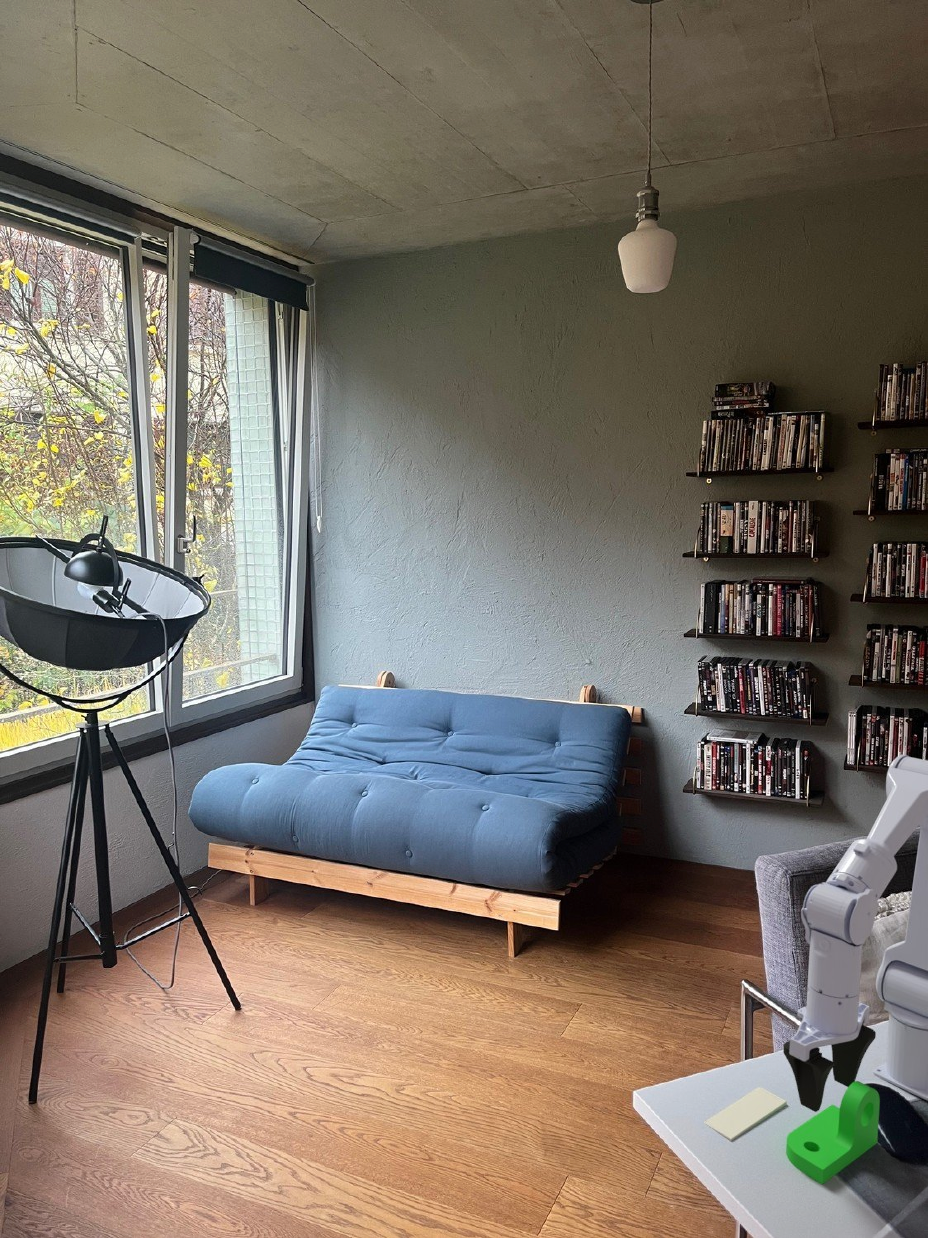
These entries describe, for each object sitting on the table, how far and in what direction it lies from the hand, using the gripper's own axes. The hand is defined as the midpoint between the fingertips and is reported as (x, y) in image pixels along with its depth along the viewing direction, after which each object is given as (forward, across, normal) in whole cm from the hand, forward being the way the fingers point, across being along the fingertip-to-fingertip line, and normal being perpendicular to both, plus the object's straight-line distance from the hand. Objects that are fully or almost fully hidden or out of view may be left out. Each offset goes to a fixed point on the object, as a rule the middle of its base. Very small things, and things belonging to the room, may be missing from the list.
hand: (827, 1095), depth 112 cm
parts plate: (+6, +3, -9) cm, 11 cm away
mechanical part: (+7, 0, +1) cm, 7 cm away
